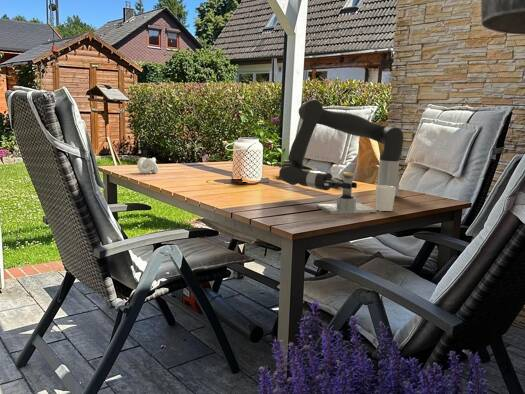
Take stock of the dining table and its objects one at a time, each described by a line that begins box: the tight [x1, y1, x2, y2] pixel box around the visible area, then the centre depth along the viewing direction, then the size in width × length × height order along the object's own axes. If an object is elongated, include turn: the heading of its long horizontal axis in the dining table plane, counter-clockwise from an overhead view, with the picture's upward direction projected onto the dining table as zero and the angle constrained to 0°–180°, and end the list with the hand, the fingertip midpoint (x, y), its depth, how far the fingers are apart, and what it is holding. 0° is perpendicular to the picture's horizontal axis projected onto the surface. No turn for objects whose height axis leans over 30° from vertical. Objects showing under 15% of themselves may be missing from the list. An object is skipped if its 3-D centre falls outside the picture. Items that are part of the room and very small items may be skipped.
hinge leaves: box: [316, 195, 377, 215], centre depth 202 cm, size 20×14×5 cm
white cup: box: [375, 184, 396, 212], centre depth 203 cm, size 8×8×10 cm
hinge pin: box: [341, 171, 355, 199], centre depth 201 cm, size 5×5×12 cm
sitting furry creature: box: [330, 164, 342, 179], centre depth 261 cm, size 10×9×12 cm
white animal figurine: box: [137, 157, 159, 175], centre depth 285 cm, size 11×12×9 cm
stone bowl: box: [276, 160, 318, 173], centre depth 290 cm, size 25×25×9 cm
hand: (353, 186), depth 199 cm, fingers closed on hinge pin, 3 cm apart
